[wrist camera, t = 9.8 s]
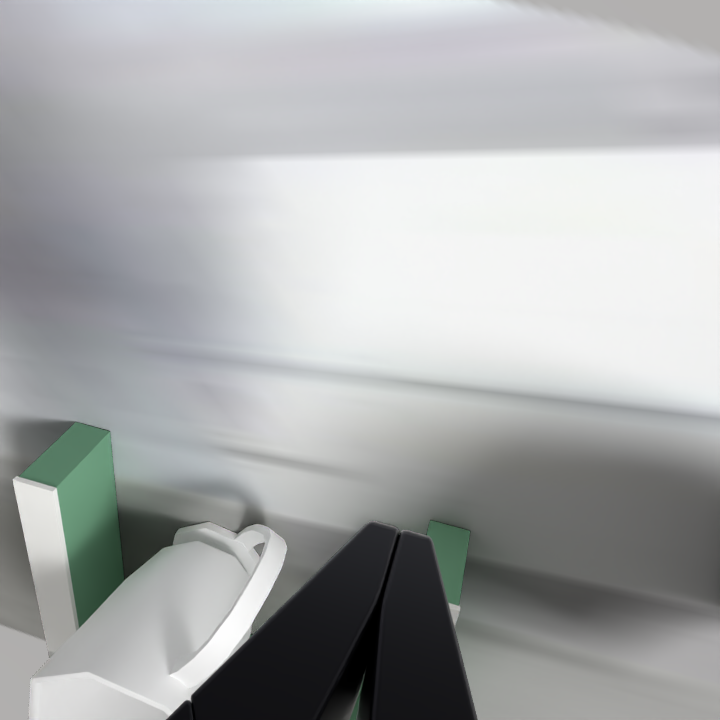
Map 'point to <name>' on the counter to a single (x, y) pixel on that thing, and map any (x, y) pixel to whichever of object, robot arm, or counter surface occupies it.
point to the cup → (162, 628)
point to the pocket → (117, 534)
